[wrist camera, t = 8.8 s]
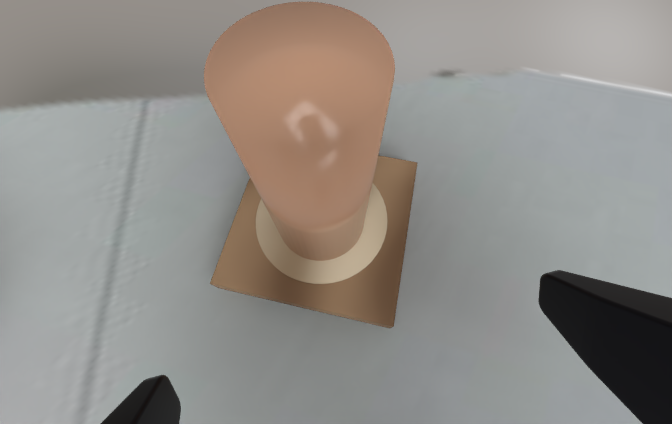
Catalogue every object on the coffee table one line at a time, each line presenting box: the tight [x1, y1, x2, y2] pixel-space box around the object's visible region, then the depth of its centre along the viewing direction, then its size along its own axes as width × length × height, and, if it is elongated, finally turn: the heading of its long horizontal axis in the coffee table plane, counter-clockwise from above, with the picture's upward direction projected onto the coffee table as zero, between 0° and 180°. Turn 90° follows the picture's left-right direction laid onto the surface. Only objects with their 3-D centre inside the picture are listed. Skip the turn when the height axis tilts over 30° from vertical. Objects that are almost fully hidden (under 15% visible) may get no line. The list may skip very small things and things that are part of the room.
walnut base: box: [210, 155, 417, 328], centre depth 21 cm, size 11×11×2 cm
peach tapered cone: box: [204, 2, 395, 261], centre depth 15 cm, size 6×6×12 cm
